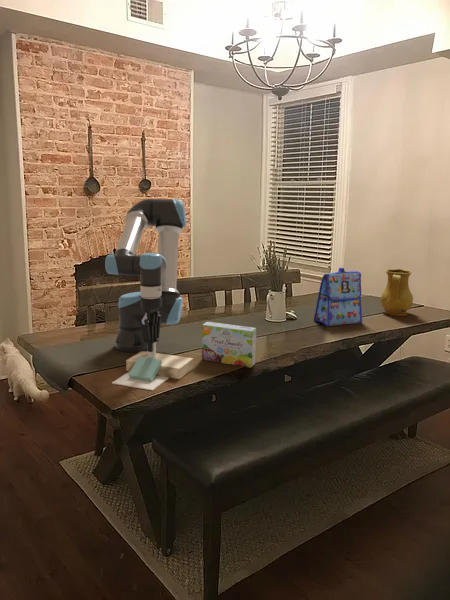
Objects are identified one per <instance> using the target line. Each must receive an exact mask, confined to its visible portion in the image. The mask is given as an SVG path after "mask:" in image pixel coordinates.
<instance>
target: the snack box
mask: <svg viewBox="0 0 450 600" xmlns="http://www.w3.org/2000/svg"><path fill="white" fill-rule="evenodd" d="M256 347H257V328H256V327H251V326H246V325H245V326H244V325H237V324H236V325H234V324H231V323H230V324H229V323H222V322H214V321H206V322H204V323H203V324H201V360H202V361H208V362H215V363H221V364H227V365H231V364H232V365H233V366H237V365H241V366H240V367H244V366H247V367H246V368H252V367H254V365H255V364H256V351H257V349H256Z"/></svg>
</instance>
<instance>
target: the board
mask: <svg viewBox="0 0 450 600" xmlns="http://www.w3.org/2000/svg"><path fill="white" fill-rule="evenodd" d="M139 357H145V358H148V351H146V350H143V351H138V352H137V353H136V354H134V355H133V356H131V357H129V358H128V359H126V360H125V363H126V365H125V367H126V369H125V370H126V372H129V371H131V369H132V368H133V366H134V364H135V363H136V361H137V359H138V358H139ZM156 359H158V360H161V361H162V365H161V366H160V368H159V370H158V372H157V374H156V376H163V377H169V378H171V379H177V380H180V379H182V378H183V377H184V376H185V375H187V374H188V373H189V372H191V371H192V370H193V369H194V358H193V357H188V356H187V357H185V356H180V355H173V354H166V353H159V352H156Z"/></svg>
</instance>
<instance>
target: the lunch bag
mask: <svg viewBox="0 0 450 600" xmlns="http://www.w3.org/2000/svg"><path fill="white" fill-rule="evenodd" d="M320 281H321V282H320V285H319V290H318V295H317V301H316V304H315V305H316V307H315V311H314V315H313V321H314V322H319V323H322V324H323V325H325V326H326V327H334V326H344V325H350V324H351V325H353V324H354V325H355V324H361V323H362V322H363V313H362V273H361V272H360V271H357V270H355V271H354V270H350V271H345V268H344V267H339V268H338V271H337V272H330V273H325V274H323V275H322V278H321V280H320Z"/></svg>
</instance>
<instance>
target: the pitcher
mask: <svg viewBox="0 0 450 600" xmlns="http://www.w3.org/2000/svg"><path fill="white" fill-rule="evenodd" d="M385 273H386V274H387V282H386V286H385V288H384V289H383V291H382V293H381V294H380V300H379V301H380V305H381V307H382V308H383V309H384V311H383V313H384V314H386V315H388V316H389V315H390V316H393V317H394V316H395V317H407V316H408V315H409V314H408V313H407V311H409V310H411V309H412V306H413V304H414V303H413V302H414V295H413V293H412V292H411V290H410V288H409V287H410V286H409V278H410V276H411V274H412V271H411V270H405V269H403V268H393V269H392V268H391V269H390V268H388V269H386V270H385Z"/></svg>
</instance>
